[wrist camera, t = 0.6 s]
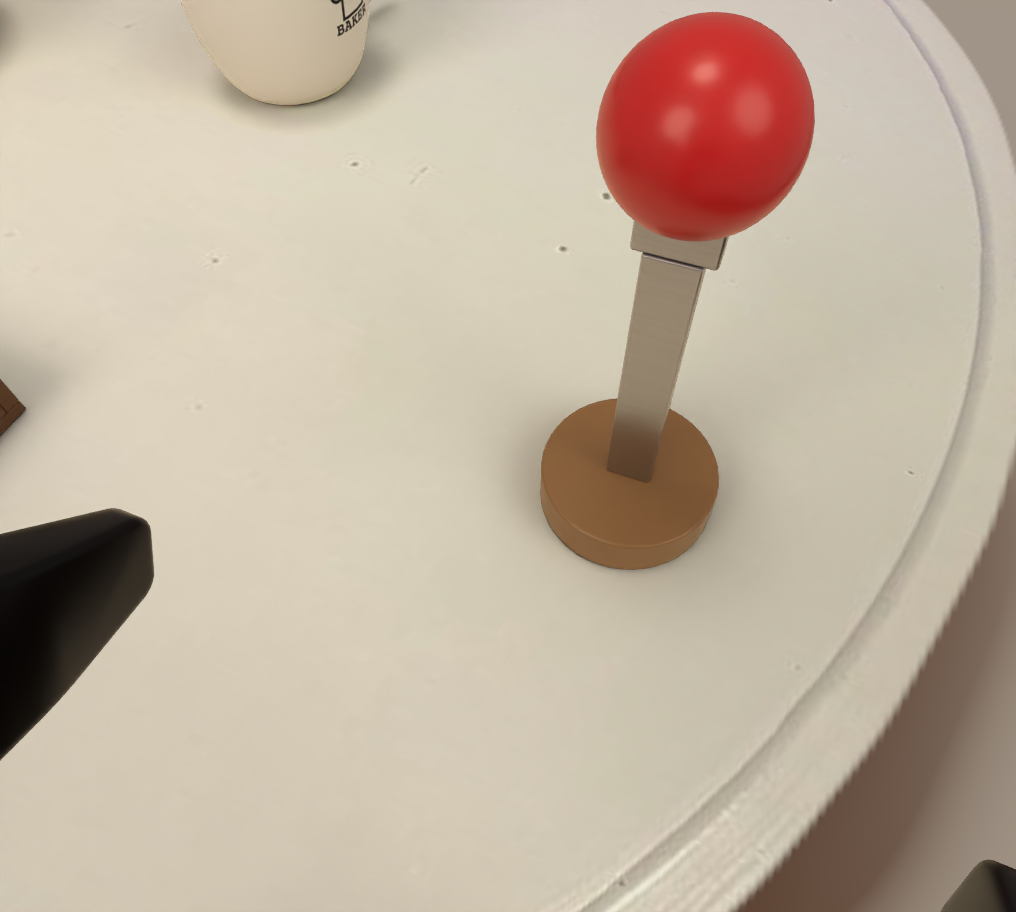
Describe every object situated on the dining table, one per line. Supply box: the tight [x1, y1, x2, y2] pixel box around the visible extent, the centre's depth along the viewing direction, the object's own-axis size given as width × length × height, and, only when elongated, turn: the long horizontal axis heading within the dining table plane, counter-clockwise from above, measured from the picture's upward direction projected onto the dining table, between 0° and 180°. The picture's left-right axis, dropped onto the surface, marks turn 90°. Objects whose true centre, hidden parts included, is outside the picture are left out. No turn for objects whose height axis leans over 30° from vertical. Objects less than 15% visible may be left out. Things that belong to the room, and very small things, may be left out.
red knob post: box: [540, 12, 815, 569], centre depth 20 cm, size 6×6×16 cm
